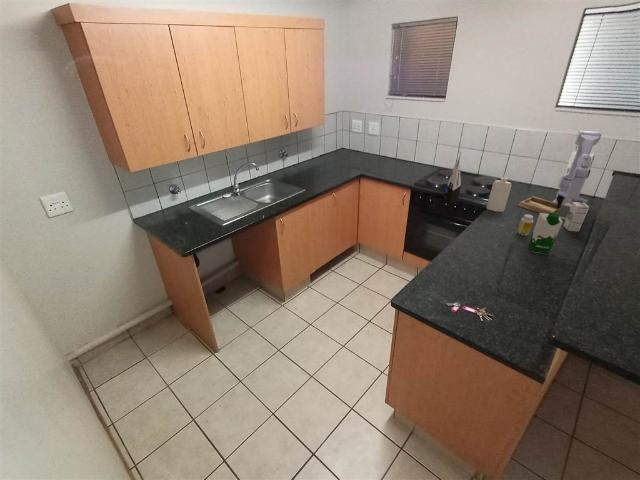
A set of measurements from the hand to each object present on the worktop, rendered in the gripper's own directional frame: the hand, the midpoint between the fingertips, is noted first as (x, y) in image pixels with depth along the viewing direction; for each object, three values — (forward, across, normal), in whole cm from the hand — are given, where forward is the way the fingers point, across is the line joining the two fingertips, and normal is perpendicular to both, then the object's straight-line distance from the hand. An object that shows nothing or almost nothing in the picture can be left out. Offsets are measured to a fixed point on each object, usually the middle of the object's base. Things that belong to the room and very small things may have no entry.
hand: (565, 210), depth 184 cm
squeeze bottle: (+3, -28, -24) cm, 37 cm away
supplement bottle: (+3, -2, -40) cm, 41 cm away
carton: (+3, -13, 0) cm, 13 cm away
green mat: (+3, 0, 0) cm, 3 cm away
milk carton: (+3, +10, -52) cm, 53 cm away
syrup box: (+3, +10, -14) cm, 18 cm away
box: (+3, 0, 0) cm, 3 cm away
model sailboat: (+3, -54, -30) cm, 63 cm away
